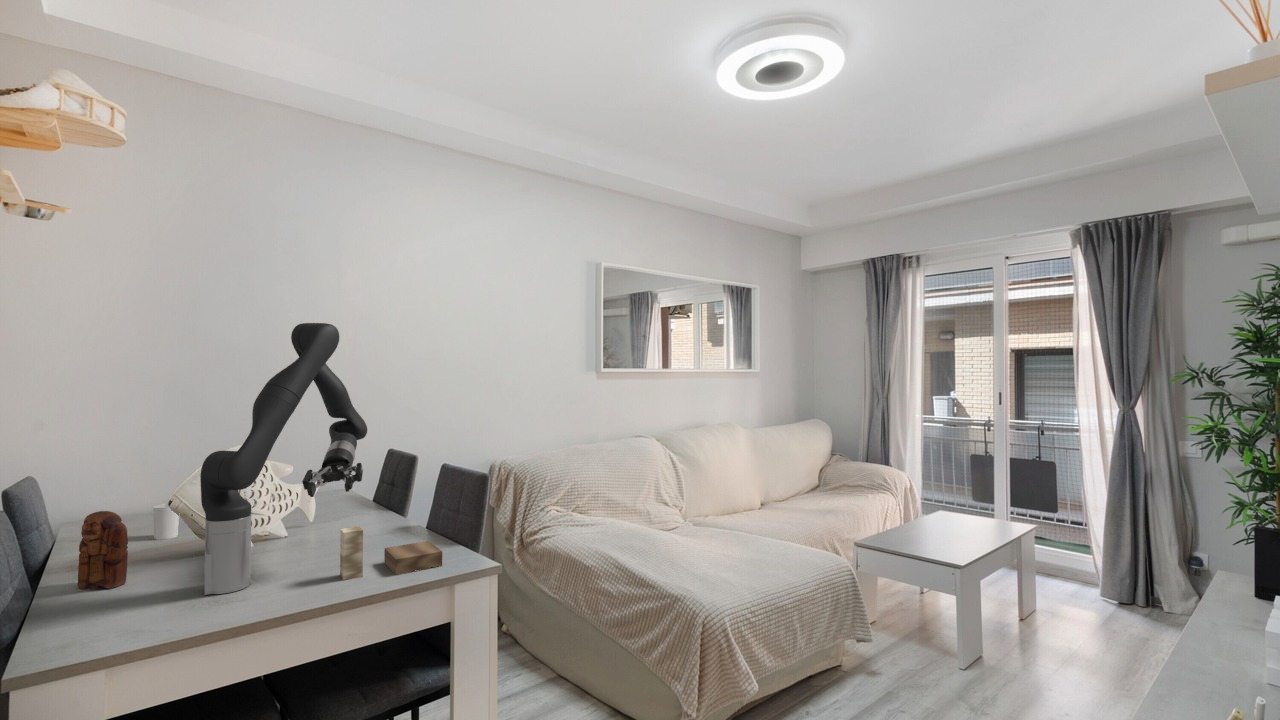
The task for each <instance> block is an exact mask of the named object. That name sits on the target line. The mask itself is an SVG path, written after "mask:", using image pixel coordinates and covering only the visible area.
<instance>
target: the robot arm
mask: <svg viewBox="0 0 1280 720" xmlns="http://www.w3.org/2000/svg"><path fill="white" fill-rule="evenodd" d="M290 338H291V343H292V346H293V349H294V350H295V352H296V354H297V356H298V358H297V359H296V360H295V361H293V362H292V363H290V364H289V365H288V366H286V367H285V368H283V369H282V370H280V371H279V372H277V373H276V374H275V375H273V376H272V377H271V378H270V379H269V380H268V381H267V382H266V383H265V384H264V386H263V387H262V389H261V391H260V392H259V393H258V395H257V397H256V398H255V400H254V402H253V406H252V412H251V413H252V417H251V418H252V421H251V422H252V423H251V429H250V431H249V433H248V436H247V437H246V438H245V440H244V442H243V443H242V445H241V446H240V447H239V449H238V450H218V451H217V450H216V451H214V452H212V453H210V454H209V455H207V457H206V458H205V459H204V461H203V463H202V465H201V470H200V496H201V497H200V500H201V508H202V510H203V512H204V513H205V514H204V515H205V531H204V532H205V534H204V535H205V536H204V537H205V539H204V575H203V576H204V581H203V582H204V583H203V588H204V589H203V590H204V592H203V594H204V595H205V596H206V595H222V594H228V593H229V594H230V593H233V592H237V591H240V590H243V589H246V588H248V587H249V586H250V585H251V566H252V565H251V562H252V559H251V558H252V556H251V555H252V553H251V552H252V505H251V502H250V501H248V500H246V499H245V498H244V497H243V496H242V495H241V493H240V492H239V491H241V490H245V489H247V488H249V487H250V486H252V485H253V484H254V483H255V482H256V480H257V479H258V477H259V476H260V474H261V472H262V471H263V469H264V466H265V464H266V462H267V459H268V458H269V455H270V453H271V451H272V449H273V447H274V445H275V443H276V441H277V439H279V436H280V435H281V433H282V431H283V429H284V427H285V425H286V424H287V422H288V421H289V419H290V418H291V417H292V415H293V414H294V412H295V410H296V408H297V407H298V405H299V404H300V402H301V400H302V398H303V396H304V395H305V393H306V391H307V390H308V389H309V387H310V386H311V384H312V383H314V384H315V386H316V387H317V390H318V392H319V395H320V396H321V399H322V401H323V402H322V403H323V404H324V406H325V410H326V412H327V413H328V416H329V417H330V418H332V419H333V418H334V419H344V420H338V421H335V422H333V423H331V424H330V426H329V429H328V434H329V437H330V445H329V447H328V448H327V451H326V452H325V455H324V458H323V461H322V465H321V466H320V467H321V468H320V469H318V471H313V469H308V470H307V471H306V473H305V475H304V477H303V479H302V481H301V482H302V486H303V489H304V491H305V490H306V492H307V495H308V496H309V498H314V497H315V494H316V491H317V488H319V487H323V486H325V485H326V484H328V483H331V482H332V483H333V482H339V481H343V482H344V490H345V492H347V493H348V492H350V490H352V488H353V485H354V484H355V482H357V483H359V482H362V480H363V472H364V469H363V465H362V463H361V462H358V463H356V465H354V466H353V464H354V461H355V459H356V457H355V456H356V450H357V447H358V446H357V445H358V441H359V440H362V439H364V438H366V437H367V434H368V427H367V423H366V422H365V420H364V419H363V417H362V416H361V415H360V414H359V412H358V411H357V409H356V408H355V407H354V406H353V402H352V400H351V398H350V395H349V393H348V389H347V388H346V386H345V384H344V383H343V381H342V380H341V379H340V378H339V377H338V376H337V375H336V374H335V373H334V372H333V371H332V369H331V368H330V367H329V366H328V364H327V362H328V361H329V360H330V358H332V356H333V354H334V353H335V352H336V350H337V348H338V345H339V343H340V332H339V329H338V328H337V327H336V326H335V325H333V324H331V323H326V322H304V323H299V324H297V325H296V326H295V327H294V328H292V331H291V336H290ZM353 472H354V474H353Z"/></svg>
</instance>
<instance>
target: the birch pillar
mask: <svg viewBox="0 0 1280 720" xmlns="http://www.w3.org/2000/svg"><path fill="white" fill-rule="evenodd" d="M339 533H340V536H339V537H340V541H339V542H340V545H339V546H340V549H339V551H340V553H339V576H340V577H341V579H342V581H347V580H352V579H358V578H363V576H364V575H363V574H364V573H363V572H364V571H363V568H364V529H363V528H362V527H361V526H359V525H357V526H353V527H345V528H340V532H339Z"/></svg>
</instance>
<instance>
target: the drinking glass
mask: <svg viewBox="0 0 1280 720" xmlns="http://www.w3.org/2000/svg"><path fill="white" fill-rule="evenodd" d="M168 503H169V502H167V503H160V504H156V505H153V506H152V517H153V539H154V540H158V541H159V540H160V541H161V540H163V541H164V540H171V539H173V538H176V537H179V535H178V533H179V526H180V525H179V522H180V515H179V516H178V515H177V514H176V513H174V512H173V511H171V509H170V508H169V506H168Z"/></svg>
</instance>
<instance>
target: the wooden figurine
mask: <svg viewBox="0 0 1280 720" xmlns="http://www.w3.org/2000/svg"><path fill="white" fill-rule="evenodd" d="M122 521H123V520H122V518H121V516H120V515H118V514H117V513H115V512H113V511H110V510H100V511H95V512H92V513H90V514H88V515H86V517H85V518H84V520H83V524H82V525H81V531H80V532H81V533H80V535H81V537H82V538H81V541H80V543H79V545H78V551H79V554H78V568H77V569H78V570H77V571H78V572H77V587H78V589H79V590H101V589H115V588H117V587H119V586H122V585H124V584H126V582H127V573H128V557H129V553H128V548H129V547H128V544H129V537H128V536H129V535H128V527H127V525H126V524H124V523H123V522H122Z"/></svg>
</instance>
